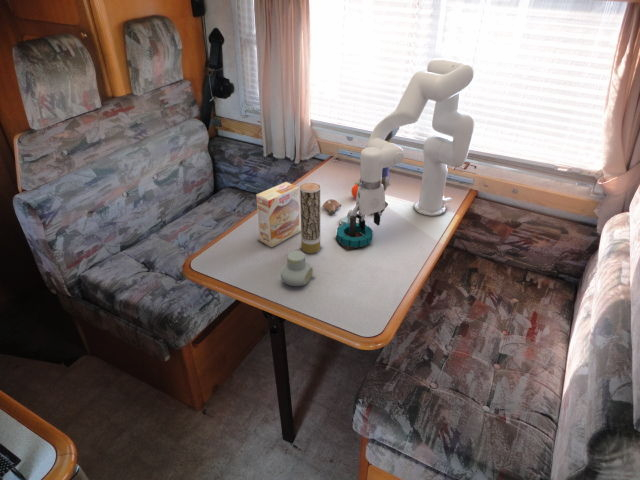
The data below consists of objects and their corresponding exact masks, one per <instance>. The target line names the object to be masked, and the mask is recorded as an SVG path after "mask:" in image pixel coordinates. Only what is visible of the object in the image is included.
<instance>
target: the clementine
mask: <svg viewBox="0 0 640 480" xmlns="http://www.w3.org/2000/svg"><path fill="white" fill-rule="evenodd" d="M357 191H358V186H357V182H355V183H354V185H352V188H351V191H350V192H351V196H352V197H353V198H354V199H356V197H357Z"/></svg>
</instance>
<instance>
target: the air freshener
mask: <svg viewBox="0 0 640 480" xmlns="http://www.w3.org/2000/svg"><path fill="white" fill-rule="evenodd" d="M313 272H314V269H313V266H312V265H311V264H310V263H309V262H307V260H306V253H305V252H304V251H301V250H292V251H290V252H288V253H287V255H286V263H285V264H284V265H283V267H282V269H281V272H280V276H279V277H280V279H281V281H282V282H283V283H284V284H286V285H288V286H291V287H301V286H306V285H307V284H308V283H309V282H310V280H311V278H312V275H313Z"/></svg>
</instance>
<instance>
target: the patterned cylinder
mask: <svg viewBox="0 0 640 480" xmlns="http://www.w3.org/2000/svg"><path fill="white" fill-rule="evenodd" d="M299 206H300V239H301V240H300V241H301V250H302V252H303V253H305V254H316V253H318V252H319V251H320V250H321V185H320V184H318V183H316V182H304V183H302V184H300V186H299Z"/></svg>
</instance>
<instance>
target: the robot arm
mask: <svg viewBox="0 0 640 480" xmlns="http://www.w3.org/2000/svg"><path fill="white" fill-rule="evenodd" d="M426 67H427V68H426V71H424V70H422V71H417V72H415V73H414V74H413V76H411V78H410V80H409V83H408V85H407V86H406V89H405V90H404V92H403V94H402V96H401V98H400V101H399V102H398V105H397V106H396V108H395V109H394V111H392V112H391V113H390V114H388V115H386V116H385V117H384V118H383V119H381V120H380V121H379V122H378V123H377V124H376V125H375V127H374V128H373V130H372V132H371V134H370V136H369V138H368V140H367V143H366V147H365V148H363V149H362V150H361V152H360V161H359V163H360V165H359V167H360V168H359V182H356V184H357V186H358V191H357V197H356V198H355V207H354V208H353V209H352V212H351V214H352V215H353V216H355V217H357V219H358V223H359V227H360V228H361V229H363V230H365V225H366V220H365V218H366V216H368V215H373V223H374V224H375V225H376V226H378V227H379V226H380V223H381V216H382V215H383V212H384V211H385V209H387V208H388V206H389V203H388V202H387V201H386V194H385V192H386V191H385V192H384V186H383V184H381V182H382V169H383V168H387V167H390V168H393V167H395V166H398V165H400V164H401V163H402V162H403V160H404V158H405V151H404V149H403V147H401V146H399V145H397V144H395V143H392V142H391V143H390V142H387V141H385V139H386V137H387V135H388V134H389V133H390V132H391V131H392V130H394V129H395V128H397V127H399V128H400V127H403V126H407V125H408V126H409V125H412V124H415V123H417V122H418V121H419V119H420V117H421V115H422V113H423V112H424V109H425V107H426V105H427V103H428V102H429V100H430V101H433V102H435V104H434V109H433V115H432V120H431V126H432V129H433V130H434V132H437V133H439V134H432V135H429V136H428V137H427V138H426V139H425V141H424V143H423V149H422V153H423V168H422V169H423V170H422V175H421V184H420V191H419V199H418V201H416V202H415V203H414V210H415V211H416V212H418V213H419V214H422V215H424V216H428V217H429V216H430V217H436V216H441V215H443V214H444V213H445V211H446V206H445V204H447V203H451V202H452V197H446V198H445V195H444V194H445V189H446V183H447V177H448V166H450V167H452V168H460V167H462V166H463V165H464V164H465V163H466V161H467V158H468V156H469V152H470V149H471V144H472V140H473V135H474V130H475V119H474V117H473V115H471V114H470V113H469V112H466V111H461V110H460V109H459V106H460V100H461V92H462V91H464V90H465V89H467V88H468V87H469V86H470V85H471V84H472V82H473V80H474V75H475V70H474V68H473V66H472V65H471V64H469V63H467V62H464V61H463V62H462V61H457V60H453V59H448V58H440V57H437V58H433V59H431V60H430V61H429V62H428V64H427V66H426ZM440 134H442V135H440ZM444 135H446V136H444ZM447 136H449V137H447ZM450 137H452V138H450ZM375 212H376V213H375ZM372 213H374V214H372Z"/></svg>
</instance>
